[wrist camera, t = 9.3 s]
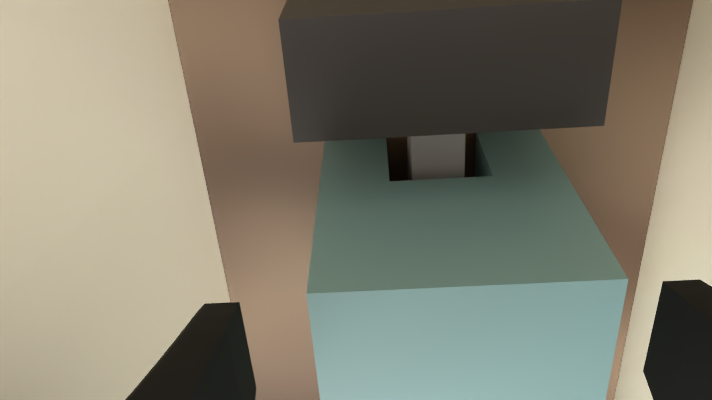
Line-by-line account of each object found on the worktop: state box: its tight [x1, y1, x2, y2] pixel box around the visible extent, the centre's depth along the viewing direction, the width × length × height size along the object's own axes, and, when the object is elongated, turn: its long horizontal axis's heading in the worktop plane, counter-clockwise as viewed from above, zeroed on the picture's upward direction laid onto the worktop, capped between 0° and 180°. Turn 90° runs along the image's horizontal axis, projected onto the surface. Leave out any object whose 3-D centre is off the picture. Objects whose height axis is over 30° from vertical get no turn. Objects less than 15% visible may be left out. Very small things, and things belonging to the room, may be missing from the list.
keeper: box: [306, 129, 628, 400], centre depth 12 cm, size 5×4×5 cm
